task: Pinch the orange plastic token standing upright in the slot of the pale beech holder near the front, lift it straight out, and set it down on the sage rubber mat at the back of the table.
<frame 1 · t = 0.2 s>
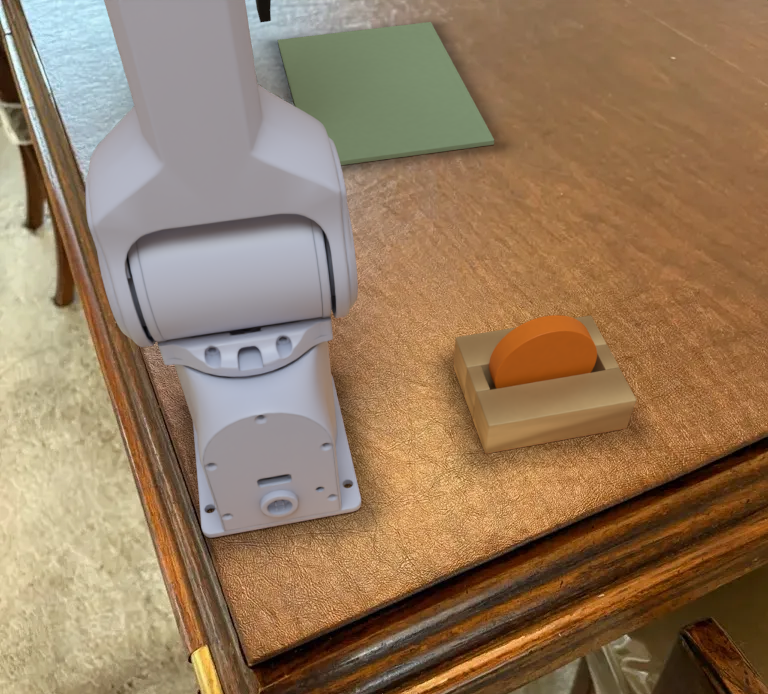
hand: (204, 22, 51), 10 cm above the table, tool pointing down, fingers open, 7 cm apart
holder: (537, 396, 44), on the table
token: (542, 362, 42), point 3 cm above the table
small box: (194, 109, 64), on the table
mat: (377, 90, 65), on the table
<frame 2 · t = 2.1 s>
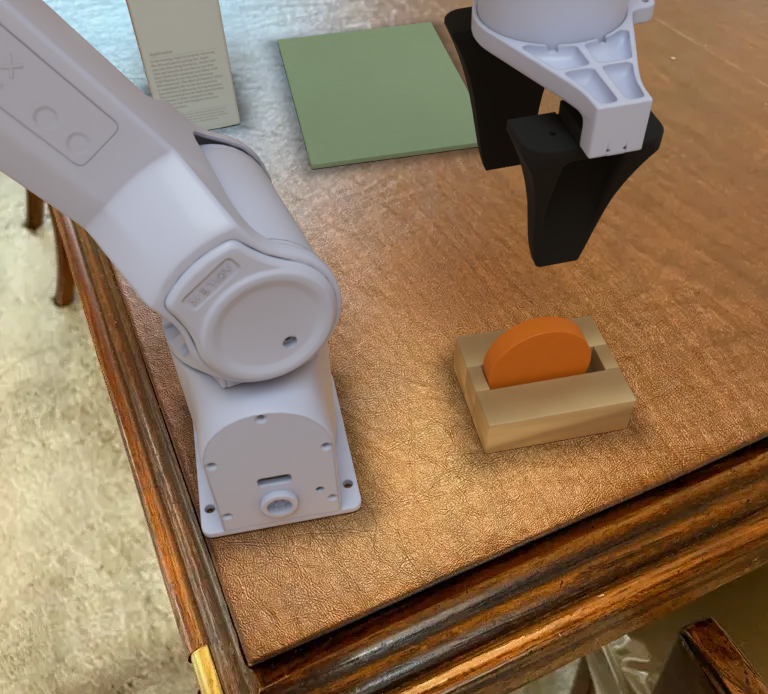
hand: (527, 208, 38), 10 cm above the table, tool pointing down, fingers open, 7 cm apart
token: (536, 363, 42), point 3 cm above the table, tilted 9°
everything else where it was.
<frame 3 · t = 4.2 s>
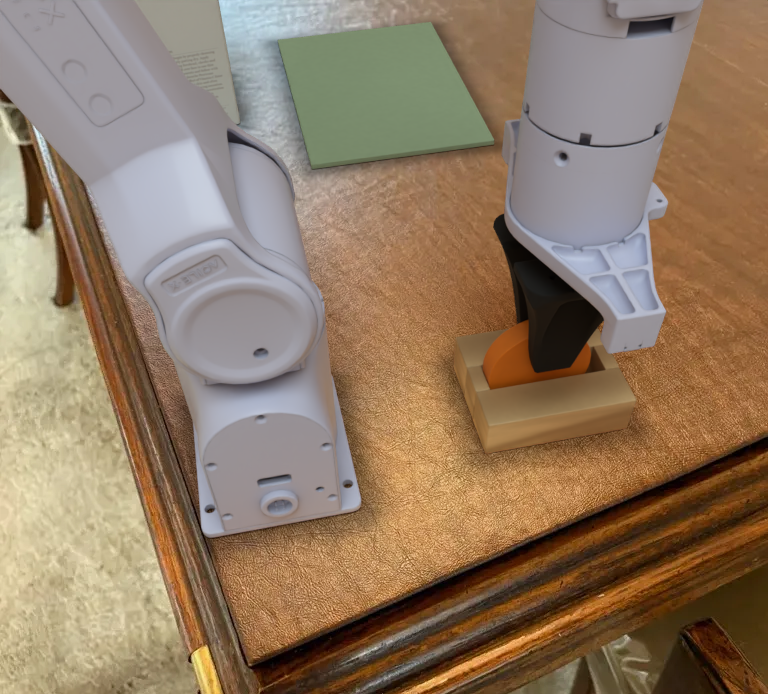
hand: (545, 353, 42), 3 cm above the table, tool pointing down, fingers closed on token, 1 cm apart
token: (536, 363, 42), point 3 cm above the table, tilted 9°, touching gripper
everything else where it was.
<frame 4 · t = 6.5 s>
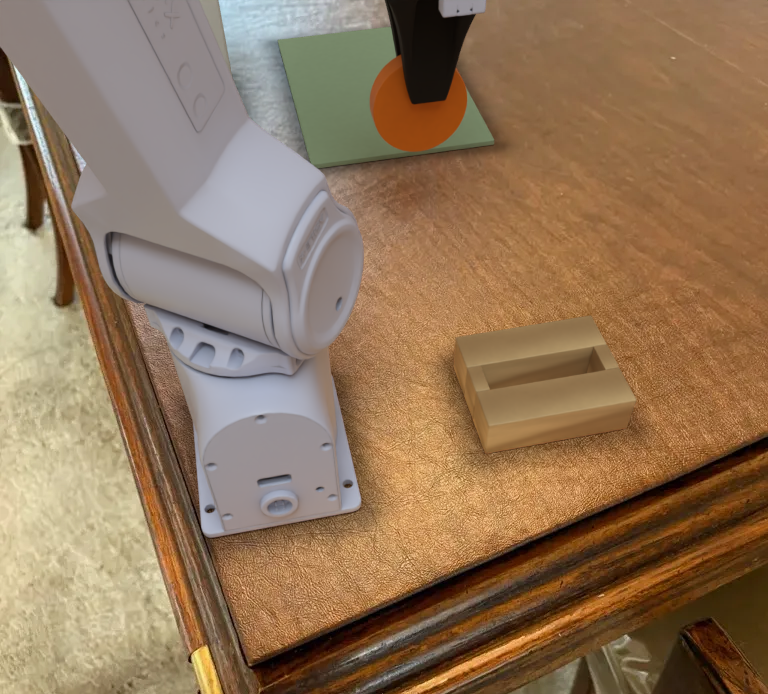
hand: (424, 91, 46), 10 cm above the table, tool pointing down, fingers closed on token
token: (418, 102, 46), point 9 cm above the table, tilted 9°, touching gripper
everything else where it was.
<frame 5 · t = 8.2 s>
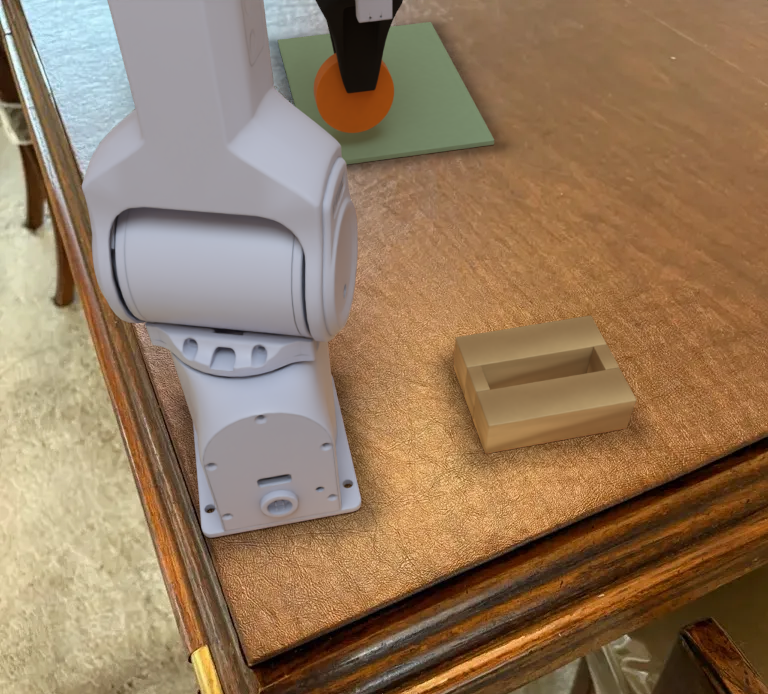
hand: (358, 83, 56), 5 cm above the table, tool pointing down, fingers closed on token, 1 cm apart
token: (353, 91, 56), point 5 cm above the table, tilted 9°, touching gripper
everything else where it was.
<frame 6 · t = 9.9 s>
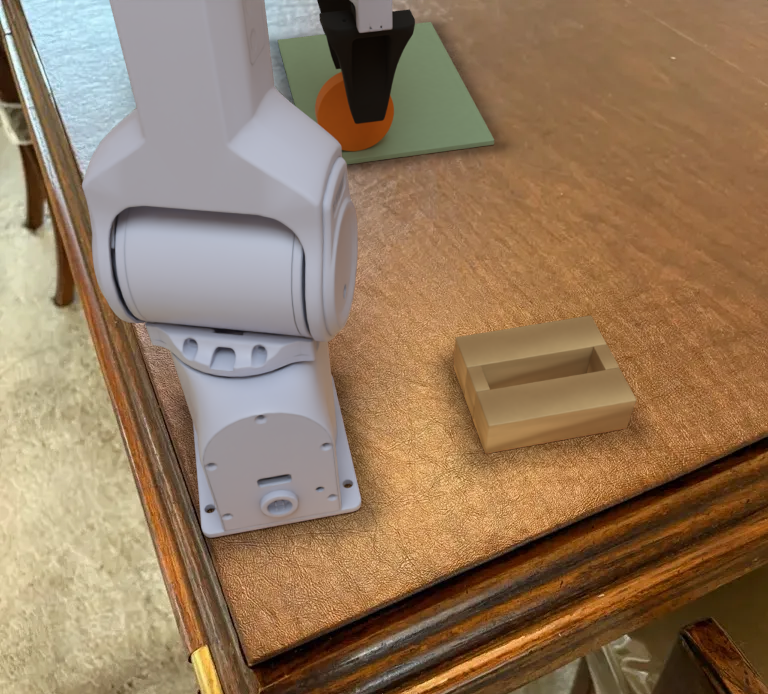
hand: (358, 91, 56), 5 cm above the table, tool pointing down, fingers open, 7 cm apart
token: (354, 111, 57), point 3 cm above the table, tilted 9°, touching mat
everything else where it was.
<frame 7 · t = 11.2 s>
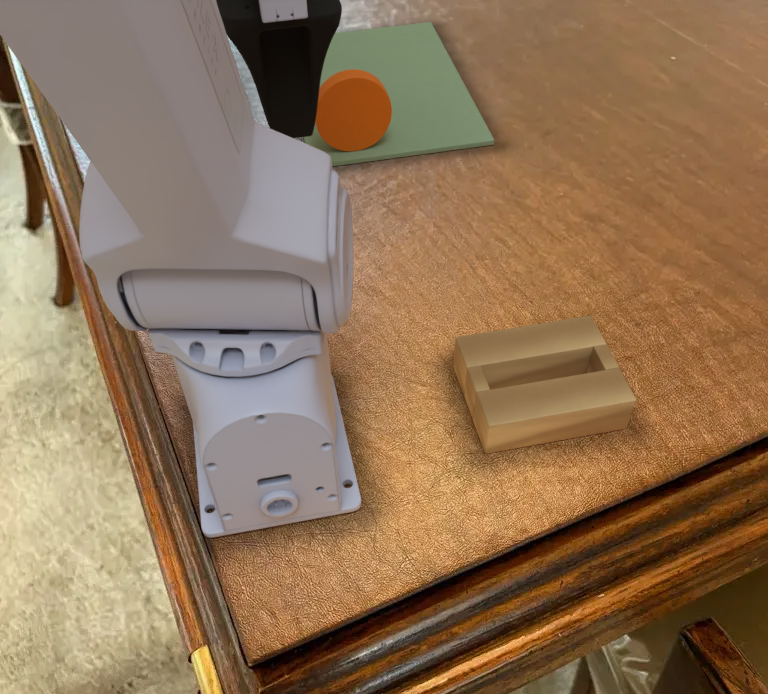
hand: (284, 98, 45), 10 cm above the table, tool pointing down, fingers open, 7 cm apart
nothing on the table moved.
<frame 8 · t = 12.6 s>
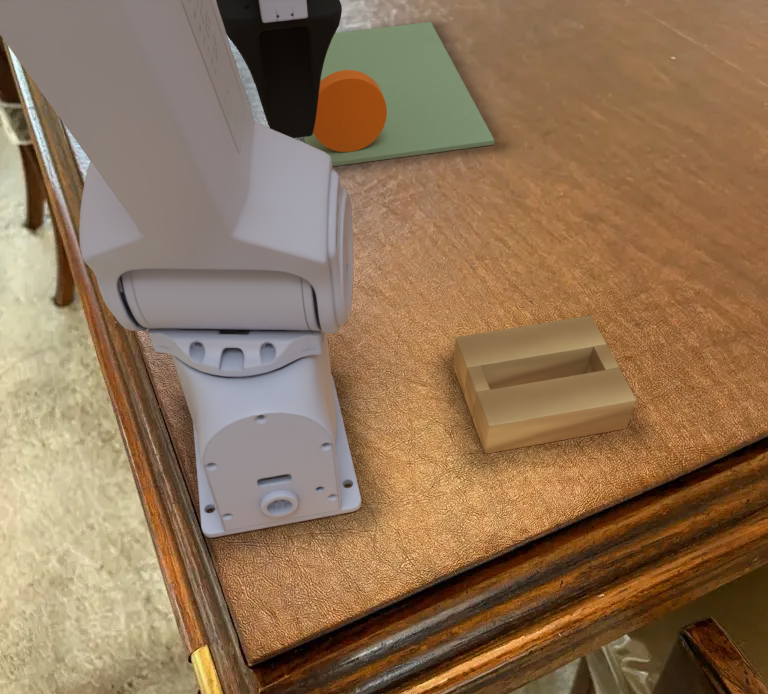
hand: (284, 98, 45), 10 cm above the table, tool pointing down, fingers open, 7 cm apart
token: (347, 112, 57), point 3 cm above the table, tilted 20°, touching mat
everything else where it was.
at the end: token inside the target area on the mat (9.4 cm from its centre), point 3.2 cm above the mat's base; token touching mat; the gripper is holding nothing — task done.
